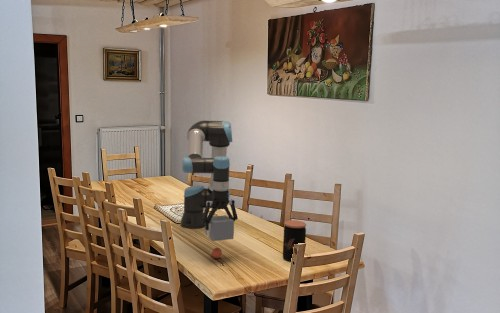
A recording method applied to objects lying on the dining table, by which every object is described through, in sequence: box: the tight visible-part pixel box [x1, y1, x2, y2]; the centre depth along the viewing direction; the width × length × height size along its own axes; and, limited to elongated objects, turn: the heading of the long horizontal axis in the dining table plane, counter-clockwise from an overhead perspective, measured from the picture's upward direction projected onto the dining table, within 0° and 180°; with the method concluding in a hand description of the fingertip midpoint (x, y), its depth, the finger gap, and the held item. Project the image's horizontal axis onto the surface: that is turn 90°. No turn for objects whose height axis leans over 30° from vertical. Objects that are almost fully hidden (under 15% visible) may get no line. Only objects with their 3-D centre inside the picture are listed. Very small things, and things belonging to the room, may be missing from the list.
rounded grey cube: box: [205, 214, 235, 242], centre depth 226 cm, size 10×10×9 cm
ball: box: [211, 247, 223, 259], centre depth 230 cm, size 5×5×5 cm
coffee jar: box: [282, 219, 307, 263], centre depth 232 cm, size 11×11×18 cm
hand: (219, 235), depth 226 cm, fingers closed on rounded grey cube, 10 cm apart
